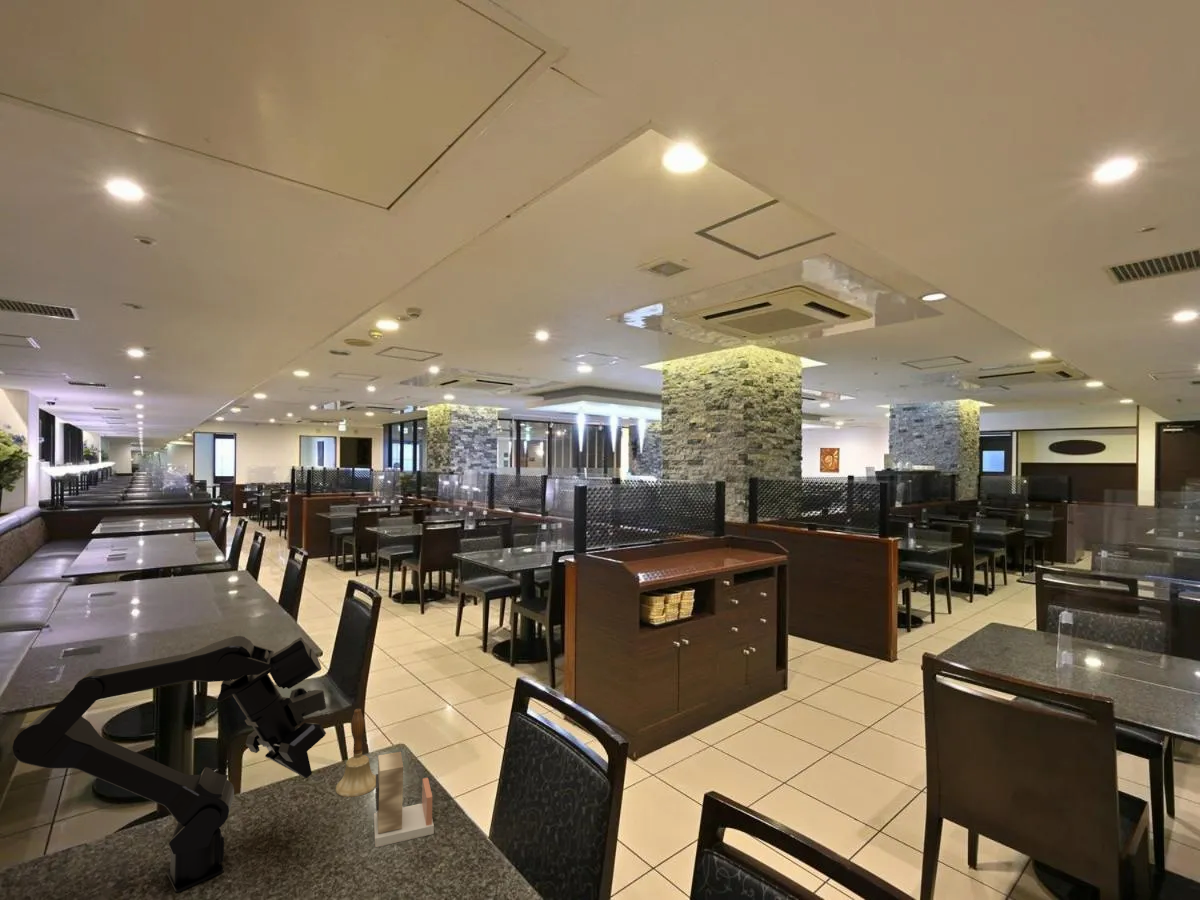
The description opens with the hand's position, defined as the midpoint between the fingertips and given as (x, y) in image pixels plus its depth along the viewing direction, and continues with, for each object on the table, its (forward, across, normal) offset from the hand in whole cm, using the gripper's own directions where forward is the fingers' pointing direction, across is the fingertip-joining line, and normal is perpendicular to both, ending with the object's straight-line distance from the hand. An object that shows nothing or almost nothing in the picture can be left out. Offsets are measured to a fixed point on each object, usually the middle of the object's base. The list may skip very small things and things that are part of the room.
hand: (308, 775), depth 102 cm
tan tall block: (+16, -4, -5) cm, 17 cm away
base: (+18, -5, -7) cm, 20 cm away
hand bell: (+15, +14, -10) cm, 23 cm away
